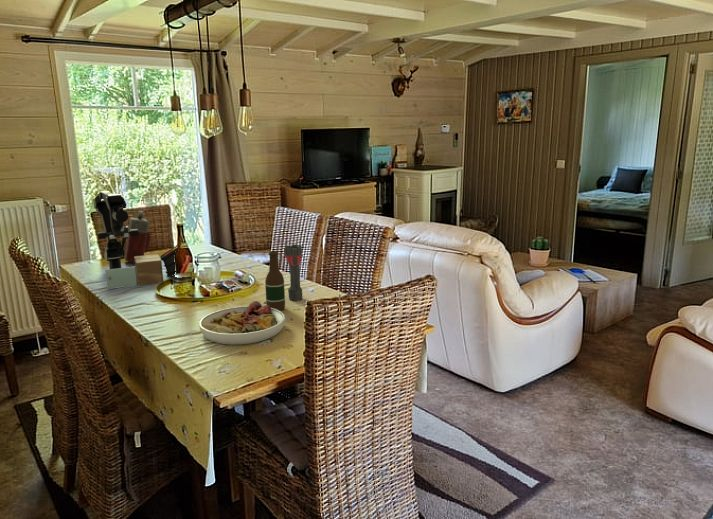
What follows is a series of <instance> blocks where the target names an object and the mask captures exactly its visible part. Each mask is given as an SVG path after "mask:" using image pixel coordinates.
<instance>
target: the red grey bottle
mask: <svg viewBox="0 0 713 519" xmlns="http://www.w3.org/2000/svg"><path fill="white" fill-rule="evenodd" d="M143 217H144V211H143V210H138V212H137V217H132V216H131V217H130V218H129V223H128V231H130V229H138V230H139V235H140V236H132V235H129V236H128V237H129V238H127V239H126V242H125V243H126V244H125V249H124V260H125V262H131V263H135V260H134V257H135V256H144V255H145V253H146V252H145V251H146V250H148V251H149V250H150V243H151V232H150V230H149V225H150V222H149V221H148V219H145V218H143Z"/></svg>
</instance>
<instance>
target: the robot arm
mask: <svg viewBox="0 0 713 519" xmlns="http://www.w3.org/2000/svg"><path fill="white" fill-rule="evenodd" d="M93 199H94V200H93V208H94V209H95V212H96V214H98V216H100V218H101V222H102V226H103V229H104V231H98V232H97V239H98V240H104V239H105V240H106V246H105V247H104V248H105V249H104V254H103V256H104V257H103V258H104V260H105V261H106V262H108V267H109V269H117V268H122V262H121V261H122V260H125V258H124V256H125V249H124V247H125V245H126V244H125V243H126V242H127V238H129V237H128V236H129V235H132V236H140V235H139V230H138V229H130V231H128V229H129V225H125V222H127V221H128V219H129V214H128V212H127V211H125V210H124V209H127V202H126V200H125V198H124V196H123V195H122V194H121V193H118V194H114V193H112V192H111V191H109V190H102V191H99V192H98V195H96V197H94V198H93ZM118 237H120V238H121V241H120V240H118V239H117V238H118Z"/></svg>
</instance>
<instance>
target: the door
mask: <svg viewBox="0 0 713 519" xmlns="http://www.w3.org/2000/svg"><path fill="white" fill-rule="evenodd" d="M104 273H105V281H106V286H107V287H106V288H107V289H108V290H109V289H116V288H125V287H132V286H133V287H134V286H139V284H138V275H137V266H135V265H134V266H127V267H126V266H125V267H121V268H117V269H110V268H109V269H105V270H104Z"/></svg>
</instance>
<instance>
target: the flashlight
mask: <svg viewBox="0 0 713 519" xmlns="http://www.w3.org/2000/svg"><path fill="white" fill-rule="evenodd" d="M283 253H284V254H283V255H284V256H285V259H286V262H287V263H288V266H289V278H290V279H289V281H290V285H289V288H287V291H288V292H287V293H288V298H289V300H290V301H292V300H293V301H294V302H299V301H300V300H303V288H302V287H301V272H300V265H301V261H302V254H303V246H302V245H300V244H299V245H297V244H292V245H285V246H284V248H283Z"/></svg>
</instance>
